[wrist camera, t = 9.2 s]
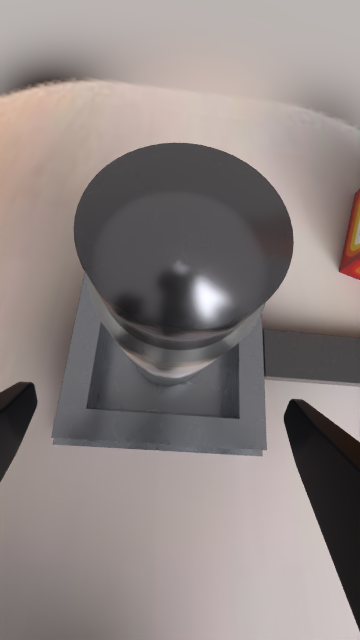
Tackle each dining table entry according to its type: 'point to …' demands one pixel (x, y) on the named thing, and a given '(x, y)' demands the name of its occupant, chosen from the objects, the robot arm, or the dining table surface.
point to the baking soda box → (352, 243)
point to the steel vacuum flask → (181, 254)
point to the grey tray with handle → (188, 390)
